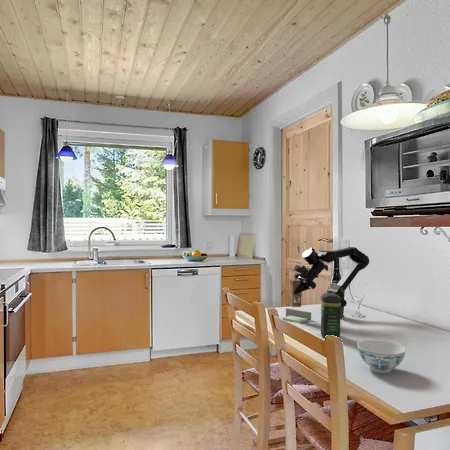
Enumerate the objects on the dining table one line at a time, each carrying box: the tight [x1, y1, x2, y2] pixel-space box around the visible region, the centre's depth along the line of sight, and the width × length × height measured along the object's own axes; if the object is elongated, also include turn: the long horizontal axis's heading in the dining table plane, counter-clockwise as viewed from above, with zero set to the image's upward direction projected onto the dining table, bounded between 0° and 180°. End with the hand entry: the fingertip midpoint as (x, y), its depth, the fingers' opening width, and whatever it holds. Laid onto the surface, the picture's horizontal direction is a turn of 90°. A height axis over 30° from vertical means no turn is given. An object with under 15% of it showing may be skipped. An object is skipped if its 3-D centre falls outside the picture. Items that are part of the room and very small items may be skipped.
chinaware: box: [356, 339, 407, 374], centre depth 134 cm, size 15×15×8 cm
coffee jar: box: [320, 292, 342, 338], centre depth 172 cm, size 10×8×19 cm
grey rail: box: [285, 307, 312, 322], centre depth 205 cm, size 14×1×4 cm, turn 50°
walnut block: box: [289, 278, 302, 308], centre depth 201 cm, size 4×5×13 cm
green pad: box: [282, 315, 308, 324], centre depth 200 cm, size 10×7×1 cm
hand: (292, 292), depth 201 cm, fingers closed on walnut block, 4 cm apart
